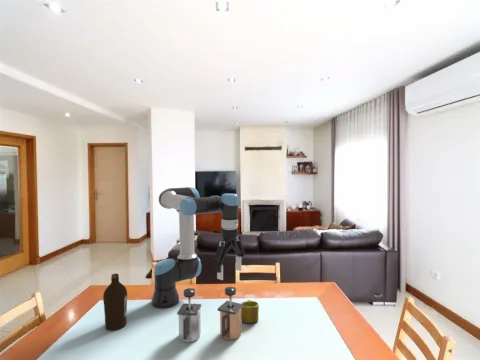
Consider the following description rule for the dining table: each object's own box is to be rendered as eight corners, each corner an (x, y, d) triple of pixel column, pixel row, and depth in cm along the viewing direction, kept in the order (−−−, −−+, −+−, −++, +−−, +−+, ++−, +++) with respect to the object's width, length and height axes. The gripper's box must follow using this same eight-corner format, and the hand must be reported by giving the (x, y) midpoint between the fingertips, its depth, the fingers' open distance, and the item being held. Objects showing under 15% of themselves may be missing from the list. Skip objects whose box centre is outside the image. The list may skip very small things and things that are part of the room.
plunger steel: (180, 331, 129) (179, 291, 129) (189, 325, 134) (189, 286, 133) (189, 336, 126) (189, 294, 125) (199, 329, 131) (198, 289, 130)
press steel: (195, 347, 122) (195, 316, 122) (174, 345, 123) (174, 315, 123) (202, 331, 134) (201, 303, 134) (183, 330, 135) (182, 303, 135)
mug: (260, 323, 137) (254, 301, 139) (240, 327, 139) (235, 306, 142) (265, 315, 149) (259, 295, 151) (246, 320, 151) (241, 300, 153)
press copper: (232, 345, 123) (232, 315, 123) (213, 340, 127) (213, 311, 127) (244, 331, 134) (244, 304, 133) (226, 327, 138) (226, 300, 137)
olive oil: (104, 333, 133) (102, 280, 132) (103, 322, 142) (102, 272, 141) (128, 328, 137) (127, 276, 136) (126, 317, 147) (125, 269, 146)
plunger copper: (221, 329, 131) (221, 289, 130) (229, 323, 136) (229, 285, 135) (231, 333, 127) (231, 292, 127) (239, 327, 132) (239, 288, 131)
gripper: (218, 234, 118) (218, 285, 119) (252, 224, 138) (251, 268, 139) (204, 232, 122) (204, 281, 123) (239, 222, 142) (239, 265, 143)
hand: (229, 274), depth 131 cm, fingers open, 13 cm apart
